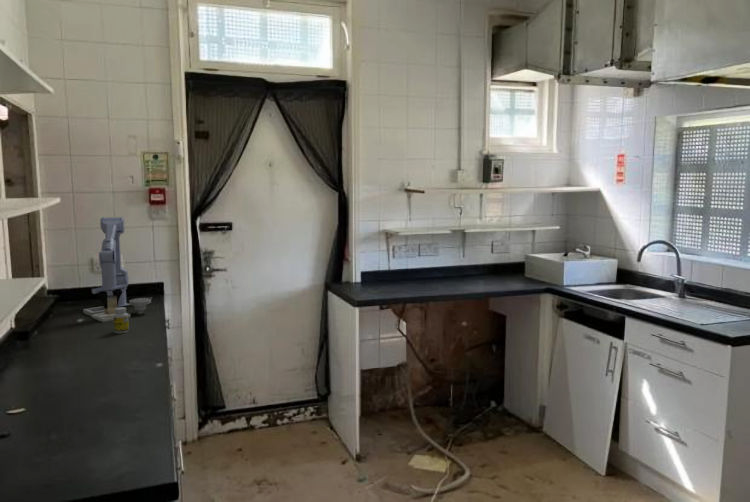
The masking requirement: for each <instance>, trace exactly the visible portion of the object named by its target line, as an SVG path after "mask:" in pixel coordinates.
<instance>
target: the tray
mask: <svg viewBox="0 0 750 502" xmlns="http://www.w3.org/2000/svg"><path fill="white" fill-rule="evenodd" d="M130 318H131V314H130V313H128V319H130ZM91 319H94V320H96V321H98V322H101V323H103V324H104V323H109V322H114V314H112V315H107V314H105V313H99V314H93V315H92V317H91Z"/></svg>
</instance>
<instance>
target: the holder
mask: <svg viewBox="0 0 750 502" xmlns="http://www.w3.org/2000/svg"><path fill="white" fill-rule="evenodd" d="M82 312H83V313H82V314H84V315H87V316H90V317H91V318H92V315H93V314H99V313H105V311H104V307H103V305H102V306H96V307H90V308H83V309H82Z"/></svg>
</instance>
